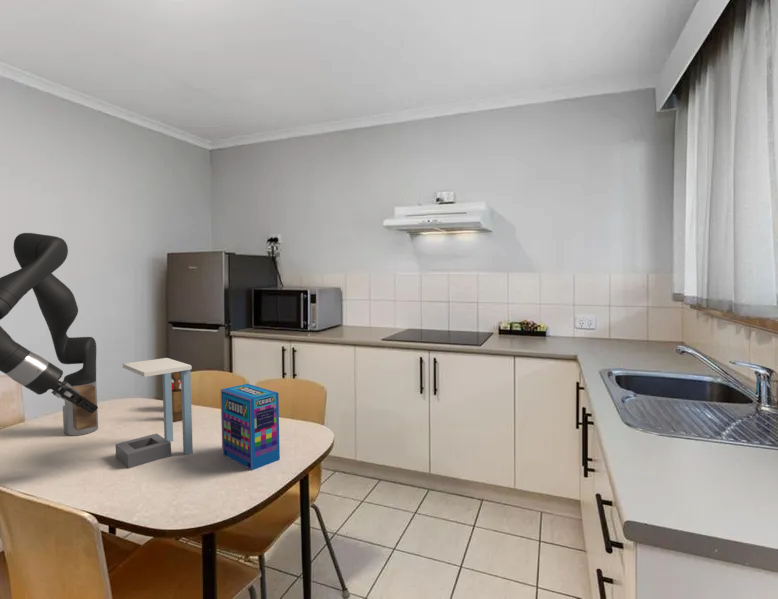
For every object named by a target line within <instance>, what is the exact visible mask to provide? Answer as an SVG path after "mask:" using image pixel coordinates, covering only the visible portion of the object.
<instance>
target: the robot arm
mask: <svg viewBox="0 0 778 599" xmlns="http://www.w3.org/2000/svg"><path fill="white" fill-rule="evenodd" d="M68 253H69V248H68V244H67V243H66V240H64V239H63V238H61V237H58V236H56V235H55V236H54V235H49V234H41V233H36V232H34V233H33V232H22V233H19V234H18V235H17V236H16V237H15V238H14V240H13V254H14V256H15V259H16V260H17V262H18V265H19V267H20V269H18V270H15V271H13V272H9V273H8V274H6V275H3V276H1V277H0V321H1V320H3V319H4V318H5V317H6V316H7V315H8V314H9V313H10V312H11V311H12V310H13V308H15V307H16V305H17V304H18V303H19V302H20V300H21V299H22V298H23V297H24V296H25V295H26V294H28V293H29V291H30V290H32V291H33V293H34V296H35V298H36V301H37V304H38V307H39V309H40V311H41V314H42V317H43V318H44V321H45V323H46V324H47V327H48V328H47V329H48V330H49V333H50V335H51V339H52V340H51V341H52V344H53V347H54V351H55V352H54V353H55V355H56V358H57V360H58V362H60V363H61V364H62V365H80V364H82V368H80V369H79V370H77V371H74V372H72V373H69V374H67V375H65V376H64V377H63V374H64V371H63V370H62V369H61V368H59V367H58V366H56V365H55V364H53V363H51V362H50V361H48V360H46V359H45V358H44V357H42V356H41V355H39V354H36V353H34V352H32V351H31V350H29V349H28V348H26V347H24V346H23V345H22V344H20V343H18V342H16V341H15V340H14V339H13V338H12V337H11V335H10V334H9V333H8V332H7V331H6V330H5V329H4V328H3V327H2V326H1V325H0V372H1V373H3V374H5V375H6V376H8V377H9V378H10V379H12V380H13V381H14V382H15V383H18V384H19V385H21V386H23V387H25V388H26V389H28V390H30V391H32V392H33V393H35V394H36V395H42V394H45V393H47V392H48V391H49V390H52V391H51V394H52V395H53V396H55V397H57V398H61V399H62V400H63V401H64V405H63V406H62V419H63V420H62V423H63V426H62V427H63V434H66V435H67V436H80V435H81V436H82V435H86V434H87V435H88V434H91V433H93V432H95V431H98V429H99V416H98V415H99V413H98V410H99V409H98V408H99V407H98V406H99V405H98V394H97V393H98V390H97V343H96V340H95V338H94V337H92V336H80V337H79V336H77V337H69V336H68V334H67V333H68V330H69V329H70V327H71V326H72V325H73V323H74V321H75V320H76V318H77V316H78V313H79V308H78V307H79V306H78V304H77V301H76V299H75V298H76V297H75V295H74V293H73V292H72V290H71V289H70V288H69V286H67V285H66V284H65V283H64V282H62V281H61V280H60V279H59V278H58V277H57V276H55V275H54V274H53V273H54V272H55V271H57V269H58V268H60V267H62V265H63V264H64V263H65V261H66V259H67V258H68ZM62 377H63V380H62V381H61V380H60V379H61V378H62ZM89 384H91V385H93V386H95V398H96V405H95V404H93V403H92V402H90V401H88V400H87V399H86V397H83V396H81V395H80V392H79V391H77V390H76V389H74V388H73V387H76V386H82V385H89ZM74 391H75V392H74ZM78 397H80V398H81V399H80V400H79V401H78V402H77V403H76V402H75V400H76V399H77V398H78ZM72 403H73V404H75V405H76V406H77V407H82V408H83V409H85V410H87V411H88V412H90V413H94V412H95V411H96V424H97V426H95V427H91V428H86V429H82V430H76V429H75V428H74V427H73V407H72Z"/></svg>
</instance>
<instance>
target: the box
mask: <svg viewBox="0 0 778 599" xmlns="http://www.w3.org/2000/svg"><path fill="white" fill-rule="evenodd" d="M279 403H280V402H279V392H277V391H273V390H270V389H266V388H263V387H261V386H257V385H253V384H250V383H244V384H240V385H236V386H230V387H225V388H222V389H220V416H221V417H220V419H221V422H220V423H221V453H222V456H225V457H227V458H228V459H230V460H233V461H234V462H236V463H238V464H240V465H242V466H244V467H245V468H247V469H249V470H251V471H254V470H257V469H260V468H262V467H265V466H267V465H270V464H272V463H275V462H278V461H280V460H281V459H280V456H281V452H280V446H281V445H280V406H279Z"/></svg>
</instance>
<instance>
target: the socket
mask: <svg viewBox="0 0 778 599" xmlns="http://www.w3.org/2000/svg"><path fill="white" fill-rule="evenodd" d="M171 444H172V441H168V440H166V439H164V437H163V436H161V435H160V434H159V433H154V434H149V435H146V436H141V437H137V438H133V439H130V440H125V441H122V442H118V443H115V458H117V459H118V460H119V462H121V463H122V464H123V465H124V466H125V467H126V468H127V469H131V468H134V467H137V466H141V465H144V464H148V463H151V462H154V461H158V460H161V459H165V458H167V457H168V458H169V457H171V456H172V445H171Z"/></svg>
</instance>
